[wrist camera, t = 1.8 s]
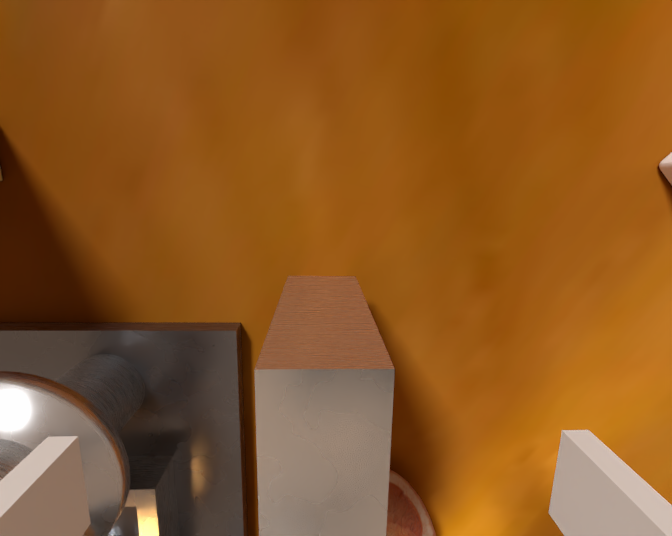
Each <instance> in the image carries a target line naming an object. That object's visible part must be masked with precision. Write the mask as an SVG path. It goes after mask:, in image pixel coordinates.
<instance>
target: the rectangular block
mask: <svg viewBox="0 0 672 536" xmlns="http://www.w3.org/2000/svg"><path fill="white" fill-rule="evenodd" d="M394 376H395V368H394V366H393V363H392V361H391V359H390V356H389V354H388V352H387V349H386V347H385V345H384V342H383V340H382V338H381V335H380V333H379V331H378V328H377V326H376V323H375V321H374V319H373V316H372V314H371V312H370V309H369V307H368V305H367V302H366V300H365V298H364V295H363V293H362V291H361V288H360V286H359V283H358V281H357V279H356V276H288V278H287V281H286V283H285V286H284V289H283V292H282V295H281V297H280V300H279V303H278V306H277V308H276V311H275V314H274V317H273V320H272V322H271V325H270V328H269V331H268V333H267V336H266V339H265V342H264V345H263V347H262V350H261V353H260V356H259V358H258V361H257V364H256V367H255V405H256V442H257V479H258V516H259V536H386V527H387V508H388V489H389V470H390V451H391V433H392V414H393V395H394Z"/></svg>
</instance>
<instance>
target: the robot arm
mask: <svg viewBox="0 0 672 536" xmlns="http://www.w3.org/2000/svg"><path fill="white" fill-rule="evenodd" d="M549 514H550V516H551V517H552V519H553V520H554V522H555V523H556V524H557V526H558V527H559V529H560V530H561V532H562V533H563V534H564V536H672V505H671V504H670V503H669V502H667V501H666V500H665V499H664V498H663V497H662V496H661V495H660V494H659V493H657V492H656V491H655V490H654V489H653V488H652V487H651V486H650V485H649V484H648V483H646V482H645V481H644V480H643V479H642V478H641V477H640V476H639V475H638V474H637V473H635V472H634V471H633V470H632V469H631V468H630V467H629V466H628V465H627V464H626V463H624V462H623V461H622V460H621V459H620V458H619V457H618V456H617V455H616V454H615V453H613V452H612V451H611V450H610V449H609V448H608V447H607V446H606V445H605V444H604V443H602V442H601V441H600V440H599V439H598V438H597V437H596V436H595V435H594V434H592V433H591V432H590V431H589V430H562V434H561V440H560V446H559V452H558V458H557V464H556V470H555V476H554V483H553V489H552V495H551V501H550V507H549ZM90 524H91V522H90V515H89V508H88V501H87V495H86V488H85V481H84V474H83V467H82V460H81V453H80V446H79V439H78V436H56V437H47V438H46V439H45V440H44V441H43V442H42V443H41V444H40V445H38V446H37V447H36V448H35V449H34V450H33V451H32V452H31V453H30V454H29V455H28V456H27V457H26V458H24V459H23V460H22V461H21V462H20V463H19V464H18V465H17V466H16V467H15V468H14V469H13V470H12V471H10V472H9V473H8V474H7V475H6V476H5V477H4V478H3V479H2V480H1V481H0V536H83V534H84V533H85V531H86V530H87V528H88V527H89V525H90Z"/></svg>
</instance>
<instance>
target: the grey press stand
mask: <svg viewBox="0 0 672 536" xmlns="http://www.w3.org/2000/svg"><path fill="white" fill-rule="evenodd" d="M56 436H78V439H79V446H80V453H81V460H82V467H83V474H84V481H85V488H86V495H87V501H88V508H89V515H90V522H91V524H90V525H89V527H88V528H87V530H86V531H85V533H84V534H83V536H248V520H247V490H246V461H245V431H244V402H243V373H242V343H241V323H0V481H1V480H2V479H3V478H4V477H5V476H6V475H7V474H8V473H9V472H10V471H12V470H13V469H14V468H15V467H16V466H17V465H18V464H19V463H20V462H21V461H22V460H23V459H24V458H26V457H27V456H28V455H29V454H30V453H31V452H32V451H33V450H34V449H35V448H36V447H37V446H38V445H40V444H41V443H42V442H43V441H44V440H45V439H46V438H47V437H56Z"/></svg>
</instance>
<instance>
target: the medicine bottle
mask: <svg viewBox="0 0 672 536" xmlns="http://www.w3.org/2000/svg"><path fill="white" fill-rule="evenodd" d="M659 168H660V170H661V171H662V173H663V174H664V175H665V177H666V178H667V180H668V181H669V182H670V184H671V185H672V152H671V153H670V154H669V155H668V156H667V157H665V158H664V159H663V160H662V161H661V162H660V163H659Z"/></svg>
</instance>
